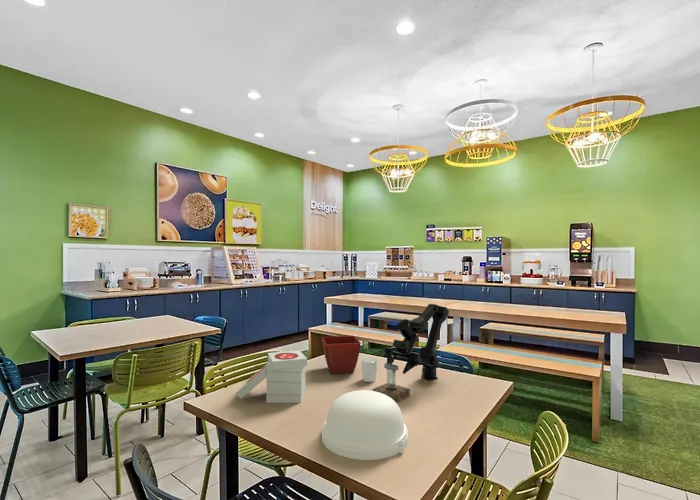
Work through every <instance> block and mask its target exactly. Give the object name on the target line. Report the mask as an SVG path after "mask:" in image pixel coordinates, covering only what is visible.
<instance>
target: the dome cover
mask: <svg viewBox="0 0 700 500" xmlns="http://www.w3.org/2000/svg"><path fill="white" fill-rule="evenodd" d="M321 441H322V443H323V446H325V448H327V449H328V450H329V451H330V452H332V453H334V454H336V455H338V456H340V457H344V458H348V459H353V460H362V461H375V460H382V459H386V458H390V457H393V456H396V455H398V454H404V453H405V448H407V446H408V444H409V432H408V427H407V425H406V424H405V422H404V417H403V413H402V411H401V408H400V407H399V405H398V403H397V402H395V401H394V400H393V399H392V398H390V397H389V396H387V395H385V394H382V393H379V392H375V391H373V390H366V389H365V390H364V389H362V390H352V391H349V392H346V393H343V394H342V395H340V396H338V397H336V399H334V401H333V402H332V403H331V405H330V407H329V409H328V412H327V417H326V420H325V421H324V423H323V426H322V429H321Z"/></svg>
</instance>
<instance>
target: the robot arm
mask: <svg viewBox="0 0 700 500" xmlns="http://www.w3.org/2000/svg"><path fill="white" fill-rule="evenodd" d="M426 306H427V307H426V308H425V309H424V310H423V312H421V313H420V315H419V316H418V317H415V318H413V319H411V320H410V321H409V319H407V318H404V319H403V320H402V321H400V322H398V323H397V324H396V325H397V326H396V328H397V330H398V331H399V333H400V334H401V336H402V338H403V340H398V339H394V340H393V343H392V347H394V348H395V349H394V348H392V347H388V346H386V347H384V349H383V353H384V355H386V363H389V364H393V363H394V362H395V359H396V357H399V358H403V359H407V361H406V364H405V366H404V369H403V371H402V375H405V374H406V373H407V372H410V370H411V369H413V368H415V367H418V366H422V369H421V375H420V377H422V378H423V379H425V380H427V381H430V380H431V381H432V380H438V379H439V377H437V369H438V368H439V366H440V361H439V359H438V358H437V355H438V354H437V351H436V348H437V343H438V341H439V336H440V333H441V332H440V331H441V329H442V325H443V323H444V322H446V320H447V319H448V316H449V313H450V311H449V309H448V308H447V306H441V305H439V304H434V303H429V304H427V305H426ZM431 319H432V322H431V327H430V330H429V334H428V337H427V340H426V344H425V346H422V347H421V348H420V351H419V353H418V352H414V350H415V348H414V347H415V345H416V343H417V342H420V338H419V336H418V335H422V334H423V333H424V331H425V330H426V327H427V326H426V324H427V323H428V322H429V321H430V320H431ZM417 334H418V335H417ZM395 350H396V351H395ZM385 369H386V370H387V368H385Z"/></svg>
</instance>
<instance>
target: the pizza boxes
mask: <svg viewBox="0 0 700 500" xmlns="http://www.w3.org/2000/svg"><path fill="white" fill-rule="evenodd" d="M307 366H308V357H306V356H305V355H304V353H303V351H302V352H301V350H289V351H277V352H267V363H266V364H265V365H264V366H262V367H261V368H260V369H259V370H258V371H257V372H256V373H254V374H253V375H252V376H250V377H248V379H247V380H245V382H244V383H243V384H242V385H241V387H239V389H238V390H237V391H236V392H235V393H236V395H237V397H238V398H239V399H240V400H241V399H243V397H245V396H246V395H247V394H248V393H250V392H251V391H252V390H253V389H255V388H256V387H257V386H258V385H259V384H260V383H262V382H263V381H264V380H265V379H266V387H265V389H266V391H265V392H266V398H265V399H266V400H265V402H266V403H269V404H270V403H273V404H274V403H276V404H277V403H281V404H284V403H285V404H286V403H290V404H292V403H293V404H294V403H295V404H297V403H298V404H301V403H302V401H303V399H304V395H305V392H306V367H307Z"/></svg>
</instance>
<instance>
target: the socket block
mask: <svg viewBox="0 0 700 500" xmlns="http://www.w3.org/2000/svg"><path fill="white" fill-rule="evenodd" d="M372 391H375V392H379V393H382V394H385V395H387V396H389V397H390V398H392V399H393V400H394V401H395V402H396V403H397V402H399V401H401V400H404V399H406V398H408V397H409V396H411V388H409V387H406V386H401V385H398V384H395V390H394V391H390V390H387V382H386V383H384V384H381V385H379V386H377V387H374V388H372Z"/></svg>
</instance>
